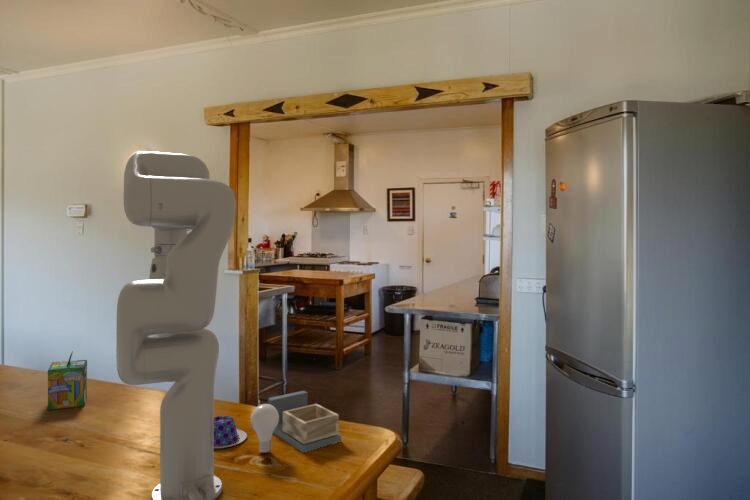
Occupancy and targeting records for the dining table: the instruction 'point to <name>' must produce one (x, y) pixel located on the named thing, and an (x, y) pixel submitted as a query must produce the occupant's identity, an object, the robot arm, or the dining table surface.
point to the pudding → (226, 432)
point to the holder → (310, 423)
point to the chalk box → (67, 384)
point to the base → (294, 402)
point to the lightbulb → (264, 425)
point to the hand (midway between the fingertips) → (171, 320)
